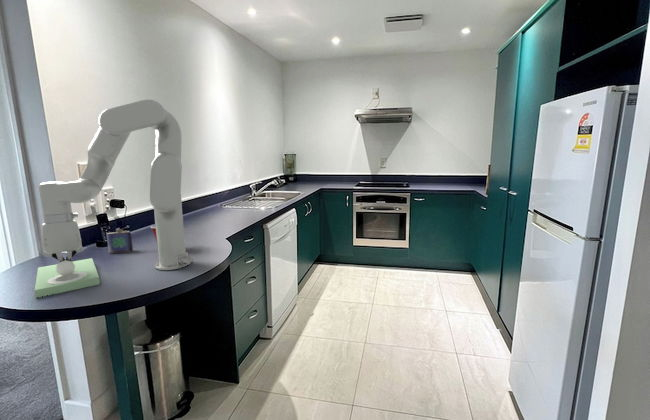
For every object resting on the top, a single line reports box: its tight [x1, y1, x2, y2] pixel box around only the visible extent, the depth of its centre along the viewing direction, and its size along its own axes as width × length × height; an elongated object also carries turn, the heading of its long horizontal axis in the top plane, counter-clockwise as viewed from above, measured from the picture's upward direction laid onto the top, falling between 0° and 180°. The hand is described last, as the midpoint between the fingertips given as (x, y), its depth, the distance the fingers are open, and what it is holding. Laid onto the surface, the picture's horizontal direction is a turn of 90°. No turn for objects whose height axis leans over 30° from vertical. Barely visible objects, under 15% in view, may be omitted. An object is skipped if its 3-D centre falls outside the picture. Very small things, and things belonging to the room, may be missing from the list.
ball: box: [56, 260, 75, 276], centre depth 109 cm, size 5×5×5 cm
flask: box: [105, 227, 134, 254], centre depth 143 cm, size 9×3×11 cm, turn 109°
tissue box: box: [34, 257, 101, 299], centre depth 112 cm, size 26×16×3 cm, turn 39°
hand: (67, 270), depth 112 cm, fingers closed
